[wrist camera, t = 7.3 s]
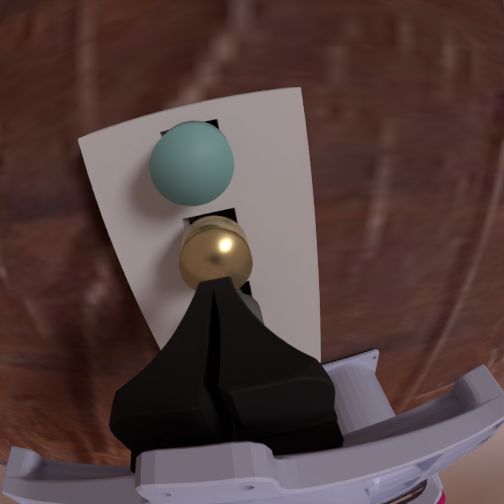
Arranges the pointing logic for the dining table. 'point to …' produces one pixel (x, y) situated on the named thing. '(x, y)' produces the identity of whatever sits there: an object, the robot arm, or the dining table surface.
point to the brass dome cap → (215, 252)
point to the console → (235, 196)
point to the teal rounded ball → (192, 164)
